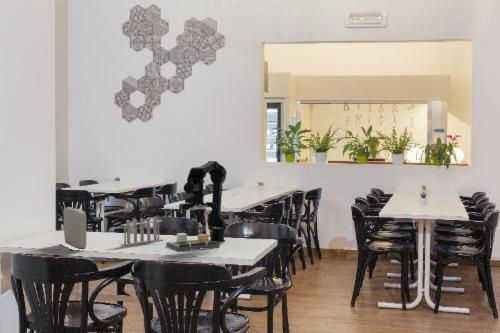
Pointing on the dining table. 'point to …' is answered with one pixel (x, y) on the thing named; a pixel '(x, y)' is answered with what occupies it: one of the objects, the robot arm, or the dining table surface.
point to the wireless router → (75, 227)
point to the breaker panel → (176, 246)
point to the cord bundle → (198, 244)
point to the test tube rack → (141, 231)
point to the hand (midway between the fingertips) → (198, 222)
